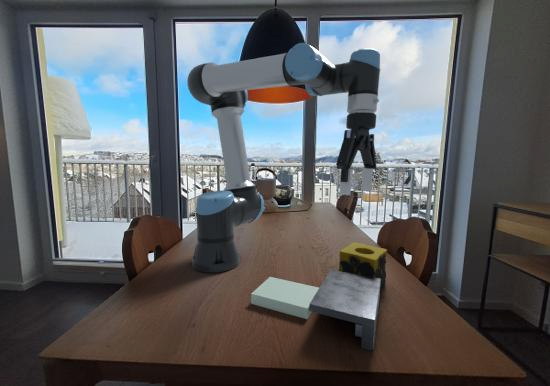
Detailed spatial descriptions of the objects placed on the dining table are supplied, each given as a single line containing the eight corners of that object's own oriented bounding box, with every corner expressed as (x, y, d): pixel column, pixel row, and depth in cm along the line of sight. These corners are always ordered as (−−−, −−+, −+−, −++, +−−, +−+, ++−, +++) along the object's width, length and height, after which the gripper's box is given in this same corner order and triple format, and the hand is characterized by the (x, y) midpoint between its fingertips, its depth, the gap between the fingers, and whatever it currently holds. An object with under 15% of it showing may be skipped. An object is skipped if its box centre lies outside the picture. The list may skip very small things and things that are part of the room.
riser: (308, 332, 52) (309, 303, 51) (329, 291, 68) (330, 269, 67) (372, 351, 47) (374, 320, 46) (379, 302, 63) (380, 278, 62)
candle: (351, 273, 79) (353, 241, 78) (386, 283, 73) (388, 248, 72) (336, 285, 72) (337, 250, 70) (373, 297, 65) (375, 259, 64)
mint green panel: (251, 305, 62) (251, 293, 62) (269, 287, 71) (270, 276, 71) (307, 321, 56) (307, 308, 56) (320, 299, 65) (320, 287, 65)
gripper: (354, 104, 58) (348, 198, 61) (391, 118, 76) (385, 190, 79) (324, 107, 63) (320, 194, 66) (366, 120, 81) (361, 187, 84)
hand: (356, 192), depth 72 cm, fingers open, 13 cm apart
